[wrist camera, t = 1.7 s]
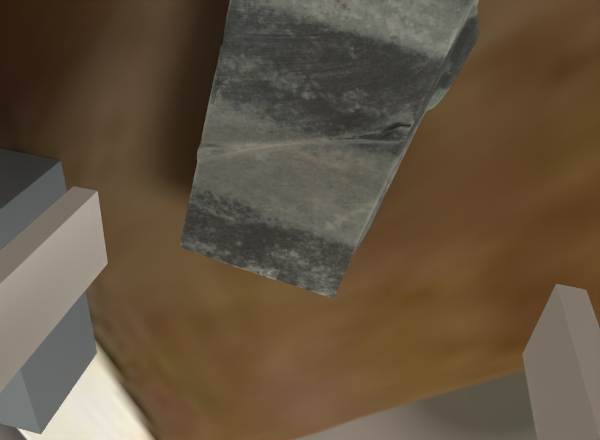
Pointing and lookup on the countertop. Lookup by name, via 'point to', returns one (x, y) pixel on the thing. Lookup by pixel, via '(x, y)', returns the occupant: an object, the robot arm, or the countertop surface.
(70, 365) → the block
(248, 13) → the stone block
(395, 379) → the countertop surface
